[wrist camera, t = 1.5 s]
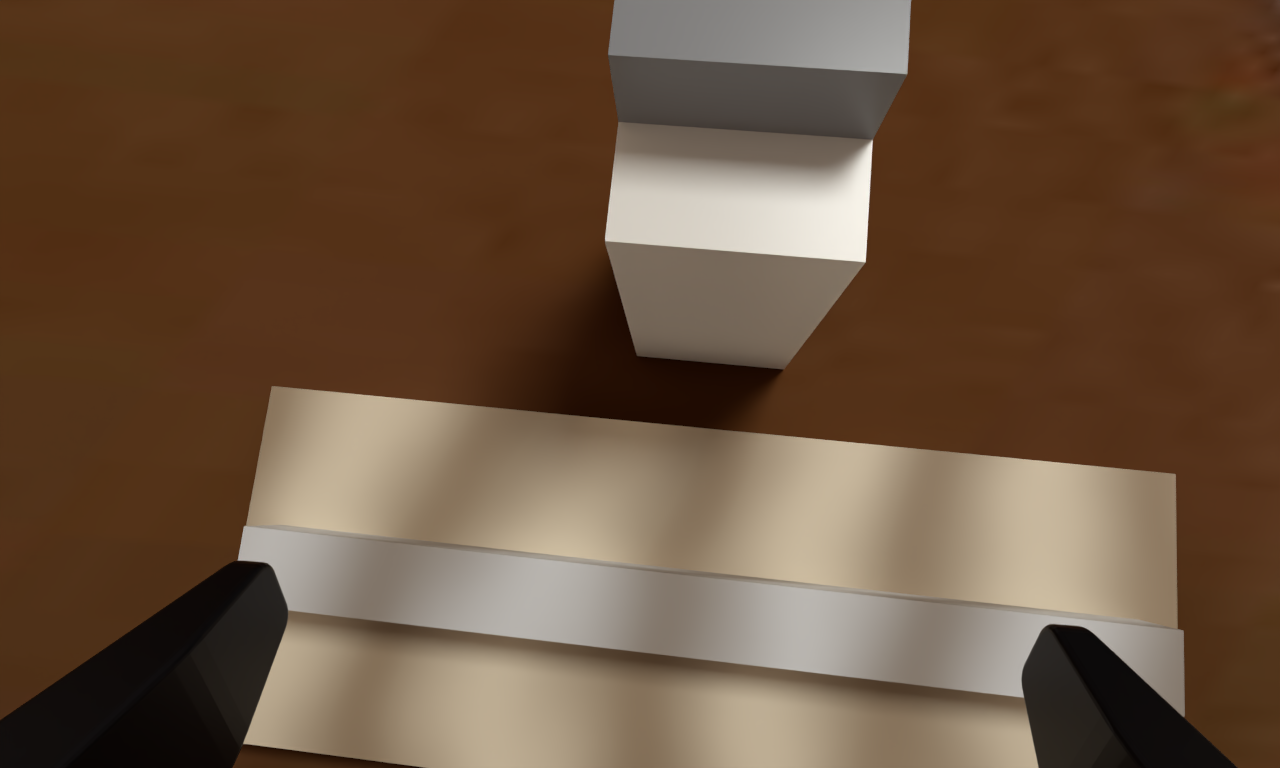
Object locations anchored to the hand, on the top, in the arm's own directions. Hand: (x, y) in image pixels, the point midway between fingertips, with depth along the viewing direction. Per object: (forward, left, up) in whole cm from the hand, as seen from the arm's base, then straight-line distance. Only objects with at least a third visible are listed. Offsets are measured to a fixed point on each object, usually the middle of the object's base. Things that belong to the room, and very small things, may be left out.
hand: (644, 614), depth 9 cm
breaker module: (+3, -8, -13) cm, 16 cm away
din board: (-1, +1, -13) cm, 13 cm away
